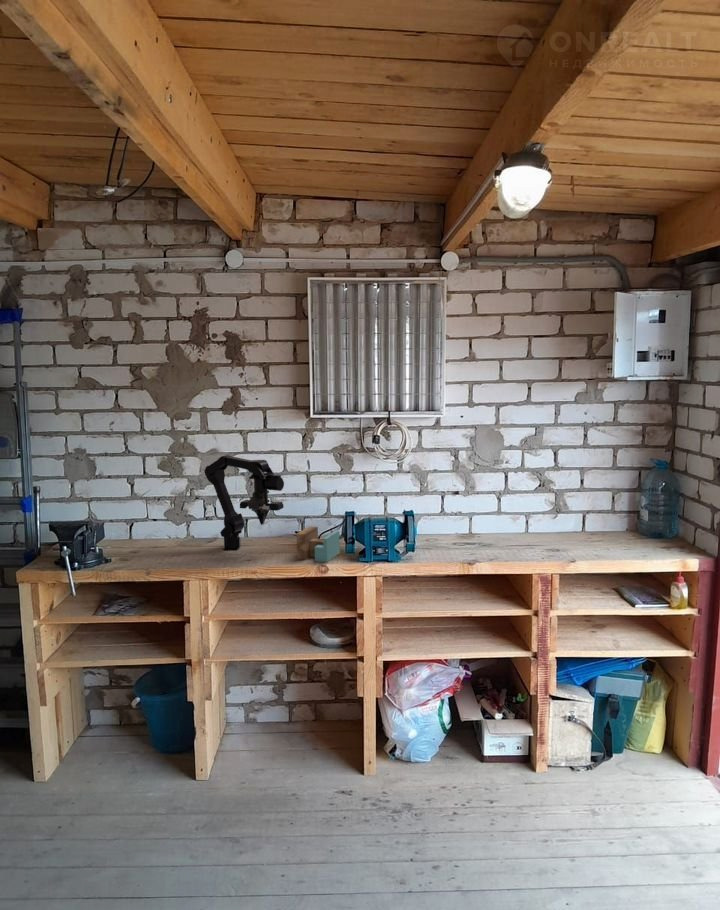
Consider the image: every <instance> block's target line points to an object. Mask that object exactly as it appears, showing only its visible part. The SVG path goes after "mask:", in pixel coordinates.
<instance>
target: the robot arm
mask: <svg viewBox="0 0 720 910" xmlns="http://www.w3.org/2000/svg"><path fill="white" fill-rule="evenodd" d="M228 467H233V468H238V469H243V470H246V471H248V473H251V475H250V476H249V480H250V479H251V480H253V491H254V492H252V497H250V498H249V499H244V500H242V501H240V503H239V509H247V508H248V509H249V510H251V511H252V512H254V513H255V514H256V516H257V518H258V520H259V523H260V525H261V526H262V525H264V524H265V522H266V519H267V516H268V514H269V512H270V511H277V512H278V511H280V510H282V509H284V503H283V501H273V502H270V499H269V493H270V491H277V492H278V491H279V492H281V491H283V489H284V487H285V481H284V479H283V477H282V475H281V474H275V473H274V471H273V469H272V468H271V467H270V465H269V462H268V461H267V460H266V459H247V458H243V457H237V456H232V455H229V454H225V455H221V456H220V457H219V458H217V459H216V460H215V461H214V462H212V463H210V465H207V466H206V467H205V468H204V474H205V477H206V478H207V480H208V482H209V483H210V484H211V485H212V486H213V488H214V490H215V493H216V496H217V498H218V501H219V504H220V506H221V509H222V512H223V526H224V527H223V528H222V529H221V530H220V532H219V534H220V536H221V537H222V538H223V546H224V548H223V550H224V551H238V550H239V549H240V548H241V544H242V543H241V540H242V539H241V537H240V534H242V532H243V529H244V527H245V520H244V518H243V515H242V513H238V512H237V511H236V510H235V508H234V507H235V506H234V505H233V502H232V499H231V496H230V494H229V491H228V489H227V485H226V483H225V477H226V476H225V475H226V474H225V471H226V469H228Z"/></svg>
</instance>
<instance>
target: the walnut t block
mask: <svg viewBox="0 0 720 910" xmlns="http://www.w3.org/2000/svg"><path fill="white" fill-rule="evenodd" d="M318 529H319V528H318V526H309V525H308V526H307V527H305V528H304V529H302V530H301V531H299V532H297V533H296V559H297V560H305V561H306V560H308V559H310V558H315V547H316V546H317V545H323V538H319V531H318Z"/></svg>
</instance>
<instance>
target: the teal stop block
mask: <svg viewBox="0 0 720 910" xmlns="http://www.w3.org/2000/svg"><path fill="white" fill-rule="evenodd" d="M322 539H323V545H317V546H316V547H315V557H314V562H319V563H320V562H322V563H328V562H329V561H331V560H332V559H334V558H335V557H336V556H337V555H339V554H340V552H341V551H340V530H339V529H337V530H334V531H333V532H331V533H329V534H328V535H326V536H325V537H323V538H322Z"/></svg>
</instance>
